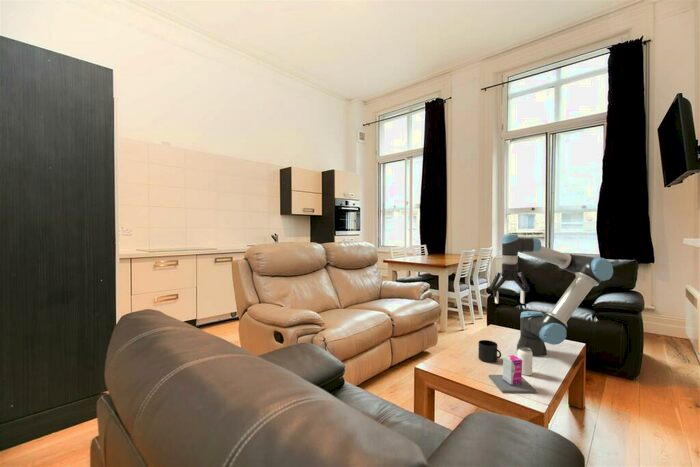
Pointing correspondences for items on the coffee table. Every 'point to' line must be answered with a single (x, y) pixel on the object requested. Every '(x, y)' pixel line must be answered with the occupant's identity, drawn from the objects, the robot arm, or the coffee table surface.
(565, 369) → the coffee table surface
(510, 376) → the supplement box
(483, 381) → the coffee table surface
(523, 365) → the can
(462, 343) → the coffee table surface
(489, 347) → the mug
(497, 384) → the mat
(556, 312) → the robot arm
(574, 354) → the coffee table surface
